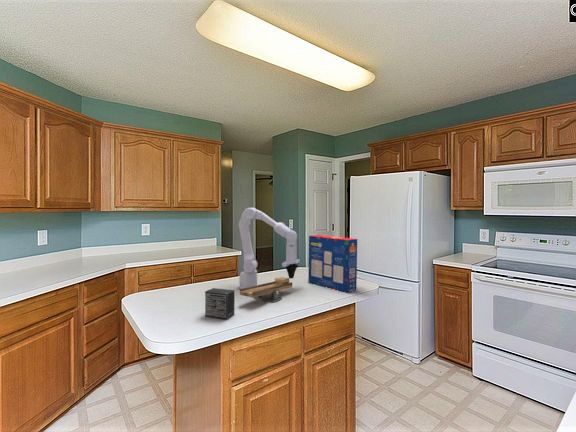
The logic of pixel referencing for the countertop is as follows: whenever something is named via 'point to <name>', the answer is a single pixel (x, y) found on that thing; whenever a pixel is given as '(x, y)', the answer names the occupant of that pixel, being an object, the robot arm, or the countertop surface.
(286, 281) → the block
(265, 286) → the beam
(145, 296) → the countertop surface
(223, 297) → the small box
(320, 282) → the blue game box
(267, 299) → the fulcrum
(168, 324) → the countertop surface
